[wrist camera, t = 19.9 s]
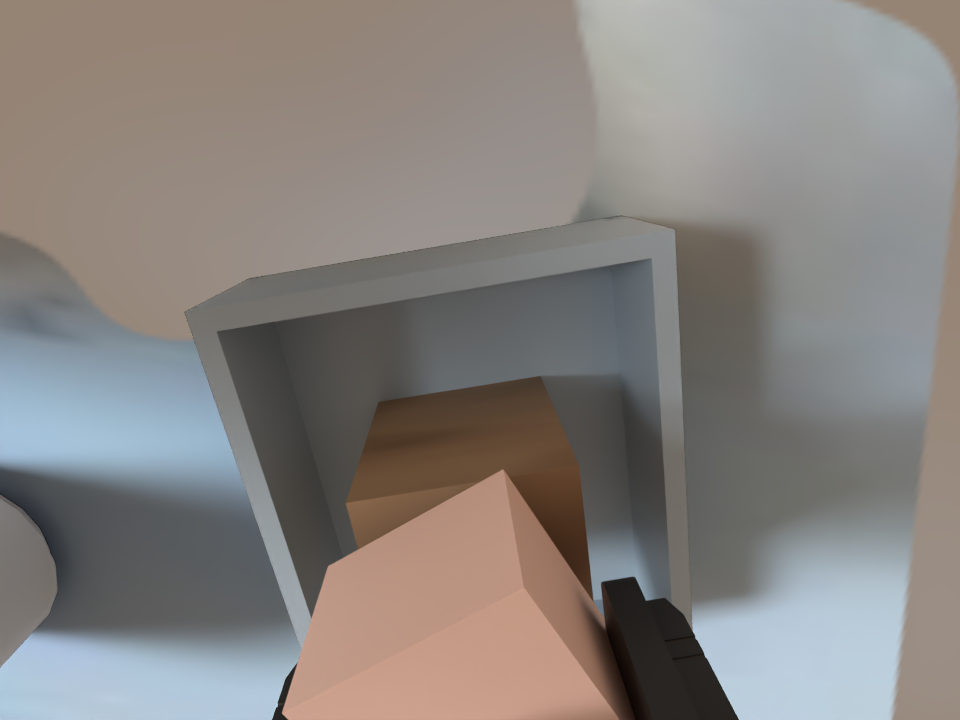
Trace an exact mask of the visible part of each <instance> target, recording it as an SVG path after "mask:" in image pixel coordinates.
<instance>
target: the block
mask: <svg viewBox="0 0 960 720" xmlns="http://www.w3.org/2000/svg"><path fill="white" fill-rule="evenodd" d="M503 469H504V471H505V472H506V474H507V475H508V477H509V478H510V480H511V481H512V483H513V484H514V486H515V487H516V488H517V490H518V491H519V493H520V494H521V496H522V497H523V499H524V500H525V502H526V503H527V505H528V506H529V508H530V509H531V511H532V512H533V514H534V515H535V517H536V518H537V520H538V521H539V522H540V524H541V525H542V527H543V528H544V530H545V531H546V533H547V534H548V536H549V537H550V539H551V540H552V542H553V543H554V545H555V546H556V548H557V549H558V551H559V552H560V553H561V555H562V556H563V558H564V559H565V561H566V562H567V564H568V565H569V567H570V568H571V570H572V571H573V573H574V574H575V576H576V577H577V579H578V580H579V582H580V583H581V584H582V586H583V587H584V589H585V590H586V592H587V593H588V595H589V596H590V598H591V599H592V601H593V602H594V599H593V590H592V581H591V571H590V562H589V553H588V543H587V534H586V525H585V515H584V506H583V497H582V488H581V478H580V469H579V464H578V462H577V460H576V457H575V455H574V453H573V450H572V448H571V446H570V443H569V441H568V439H567V436H566V434H565V432H564V429H563V427H562V425H561V423H560V420H559V418H558V416H557V413H556V411H555V409H554V406H553V404H552V402H551V399H550V397H549V395H548V392H547V390H546V388H545V385H544V383H543V381H542V378H541V376H537V377H531V378H524V379H518V380H512V381H506V382H499V383H493V384H487V385H481V386H474V387H468V388H462V389H456V390H449V391H443V392H437V393H431V394H425V395H418V396H412V397H406V398H400V399H393V400H387V401H381V402H378V405H377V408H376V411H375V414H374V417H373V420H372V424H371V427H370V430H369V433H368V436H367V439H366V442H365V445H364V448H363V451H362V454H361V457H360V460H359V464H358V467H357V470H356V473H355V476H354V479H353V482H352V485H351V488H350V491H349V494H348V497H347V501H346V506H347V510H348V513H349V517H350V521H351V525H352V528H353V532H354V536H355V539H356V543H357V547H358V549H360V548H362V547H364V546H366V545H367V544H369V543H371V542H373V541H375V540H376V539H378V538H380V537H382V536H384V535H385V534H387V533H389V532H391V531H393V530H394V529H396V528H398V527H400V526H402V525H403V524H405V523H407V522H409V521H411V520H412V519H414V518H416V517H418V516H420V515H421V514H423V513H425V512H427V511H429V510H431V509H432V508H434V507H436V506H438V505H440V504H441V503H443V502H445V501H447V500H449V499H450V498H452V497H454V496H456V495H458V494H459V493H461V492H463V491H465V490H467V489H468V488H470V487H472V486H474V485H476V484H477V483H479V482H481V481H483V480H485V479H486V478H488V477H490V476H492V475H494V474H495V473H497V472H499V471H501V470H503Z"/></svg>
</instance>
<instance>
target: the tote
mask: <svg viewBox="0 0 960 720" xmlns="http://www.w3.org/2000/svg"><path fill="white" fill-rule="evenodd" d="M185 316H186V318H187V321H188V324H189V327H190V330H191V333H192V336H193V339H194V342H195V344H196V347H197V350H198V353H199V356H200V359H201V362H202V365H203V368H204V370H205V373H206V376H207V379H208V382H209V385H210V388H211V391H212V394H213V397H214V399H215V402H216V405H217V408H218V411H219V414H220V417H221V420H222V423H223V425H224V428H225V431H226V434H227V437H228V440H229V443H230V446H231V449H232V451H233V454H234V457H235V460H236V463H237V466H238V469H239V472H240V475H241V477H242V480H243V483H244V486H245V489H246V492H247V495H248V498H249V501H250V503H251V506H252V509H253V512H254V515H255V518H256V521H257V524H258V527H259V530H260V532H261V535H262V538H263V541H264V544H265V547H266V550H267V553H268V556H269V558H270V561H271V564H272V567H273V570H274V573H275V576H276V579H277V582H278V584H279V587H280V590H281V593H282V596H283V599H284V602H285V605H286V608H287V610H288V613H289V616H290V619H291V622H292V625H293V628H294V631H295V634H296V636H297V639H298V642H299V645H300V648H301V651H302V648H303V644H304V641H305V638H306V635H307V632H308V628H309V625H310V622H311V619H312V616H313V613H314V609H315V606H316V603H317V600H318V597H319V593H320V590H321V587H322V584H323V581H324V578H325V574H326V571H327V568H328V566H329V565H331V564H333V563H335V562H337V561H338V560H340V559H342V558H344V557H346V556H348V555H349V554H351V553H353V552H355V551H357V550H358V547H357V543H356V539H355V536H354V532H353V528H352V525H351V521H350V517H349V513H348V510H347V506H346V501H347V497H348V494H349V491H350V488H351V485H352V482H353V479H354V476H355V473H356V470H357V467H358V464H359V460H360V457H361V454H362V451H363V448H364V445H365V442H366V439H367V436H368V433H369V430H370V427H371V424H372V420H373V417H374V414H375V411H376V408H377V405H378V402H381V401H387V400H393V399H400V398H406V397H412V396H418V395H425V394H431V393H437V392H443V391H449V390H456V389H462V388H468V387H474V386H481V385H487V384H493V383H499V382H506V381H512V380H518V379H524V378H531V377H537V376H541V378H542V381H543V383H544V385H545V388H546V390H547V392H548V395H549V397H550V399H551V402H552V404H553V406H554V409H555V411H556V413H557V416H558V418H559V420H560V423H561V425H562V427H563V429H564V432H565V434H566V436H567V439H568V441H569V443H570V446H571V448H572V450H573V453H574V455H575V457H576V460H577V462H578V464H579V469H580V478H581V488H582V497H583V506H584V515H585V525H586V534H587V543H588V553H589V562H590V571H591V581H592V590H593V599H594V604H595V605H596V607H597V608H598V610H599V611H600V613H601V614H602V616H603V617H604V609H603V600H602V591H601V582H603V581H609V580H615V579H621V578H627V577H633V576H634V577H635V578H636V580H637V582H638V584H639V586H640V588H641V591H642V593H643V595H644V597H645V599H646V601H647V600H653V599H659V598H666V599H667V600H668V601H669V602H670V603H671V604H672V605H674V606H675V607H676V608H677V609H678V610H679V611H680V612H682V613H683V614H684V616H685V618H686V620H687V622H688V624H689V625H690V627H691V629H692V608H691V585H690V562H689V539H688V516H687V493H686V470H685V447H684V425H683V402H682V379H681V356H680V333H679V310H678V287H677V264H676V241H675V229H672V228H668V227H664V226H660V225H656V224H652V223H648V222H644V221H640V220H636V219H633V218H629V217H625V216H616V217H610V218H604V219H598V220H592V221H586V222H580V223H574V224H568V225H562V226H556V227H550V228H545V229H539V230H533V231H527V232H521V233H515V234H509V235H503V236H497V237H491V238H486V239H479V240H474V241H468V242H462V243H456V244H450V245H444V246H438V247H433V248H426V249H420V250H414V251H408V252H403V253H397V254H391V255H385V256H379V257H373V258H367V259H361V260H355V261H350V262H343V263H338V264H332V265H326V266H320V267H314V268H308V269H302V270H296V271H290V272H284V273H279V274H273V275H267V276H261V277H256V278H249V279H247V280H245V281H243V282H241V283H239V284H238V285H236V286H234V287H232V288H230V289H228V290H226V291H224V292H222V293H220V294H218V295H216V296H214V297H212V298H211V299H209V300H207V301H205V302H203V303H201V304H199V305H197V306H195V307H193V308H191V309H189V310H187V311H185Z"/></svg>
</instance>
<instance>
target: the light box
mask: <svg viewBox="0 0 960 720" xmlns="http://www.w3.org/2000/svg"><path fill="white" fill-rule="evenodd" d="M282 714H283V715H284V716H285V717H286V718H287V719H288V720H636V719H635V716H634V713H633V710H632V707H631V704H630V701H629V698H628V695H627V692H626V689H625V686H624V683H623V680H622V677H621V674H620V671H619V668H618V665H617V662H616V659H615V656H614V653H613V650H612V647H611V644H610V641H609V638H608V635H607V632H606V627H605V618H604V617H603V616H602V614H601V613H600V611H599V610H598V608H597V607H596V605H595V604H594V602H593V601H592V599H591V598H590V596H589V595H588V593H587V592H586V590H585V589H584V587H583V586H582V584H581V583H580V582H579V580H578V579H577V577H576V576H575V574H574V573H573V571H572V570H571V568H570V567H569V565H568V564H567V562H566V561H565V559H564V558H563V556H562V555H561V553H560V552H559V551H558V549H557V548H556V546H555V545H554V543H553V542H552V540H551V539H550V537H549V536H548V534H547V533H546V531H545V530H544V528H543V527H542V525H541V524H540V522H539V521H538V520H537V518H536V517H535V515H534V514H533V512H532V511H531V509H530V508H529V506H528V505H527V503H526V502H525V500H524V499H523V497H522V496H521V494H520V493H519V491H518V490H517V488H516V487H515V486H514V484H513V483H512V481H511V480H510V478H509V477H508V475H507V474H506V472H505V471H504V469H503V470H501V471H499V472H497V473H495V474H494V475H492V476H490V477H488V478H486V479H485V480H483V481H481V482H479V483H477V484H476V485H474V486H472V487H470V488H468V489H467V490H465V491H463V492H461V493H459V494H458V495H456V496H454V497H452V498H450V499H449V500H447V501H445V502H443V503H441V504H440V505H438V506H436V507H434V508H432V509H431V510H429V511H427V512H425V513H423V514H421V515H420V516H418V517H416V518H414V519H412V520H411V521H409V522H407V523H405V524H403V525H402V526H400V527H398V528H396V529H394V530H393V531H391V532H389V533H387V534H385V535H384V536H382V537H380V538H378V539H376V540H375V541H373V542H371V543H369V544H367V545H366V546H364V547H362V548H360V549H358V550H357V551H355V552H353V553H351V554H349V555H348V556H346V557H344V558H342V559H340V560H338V561H337V562H335V563H333V564H331V565H329V566H328V568H327V571H326V574H325V578H324V581H323V584H322V587H321V590H320V593H319V597H318V600H317V603H316V606H315V609H314V613H313V616H312V619H311V622H310V625H309V628H308V632H307V635H306V638H305V641H304V644H303V648H302V651H301V654H300V657H299V660H298V663H297V667H296V670H295V673H294V676H293V679H292V683H291V686H290V689H289V692H288V695H287V698H286V702H285V705H284V708H283V711H282Z"/></svg>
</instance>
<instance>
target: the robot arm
mask: <svg viewBox="0 0 960 720" xmlns="http://www.w3.org/2000/svg"><path fill="white" fill-rule="evenodd" d="M601 591H602V600H603V609H604V618H605V627H606V632H607V635H608V638H609V641H610V644H611V647H612V650H613V653H614V656H615V659H616V662H617V665H618V668H619V671H620V674H621V677H622V680H623V683H624V686H625V689H626V692H627V695H628V698H629V701H630V704H631V707H632V710H633V713H634V716H635V719H636V720H739V719H738V717H737V715H736V714H735V712H734V710H733V708H732V706H731V704H730V702H729V700H728V698H727V696H726V694H725V692H724V691H723V689H722V687H721V685H720V683H719V681H718V679H717V677H716V675H715V673H714V671H713V670H712V668H711V666H710V664H709V662H708V660H707V658H705V656H704V652H703V650H702V648H701V647H700V645H699V643H698V641H697V640H696V639H695V635H694V633H693V631H692V629H691V627H690V625H689V624H688V622H687V620H686V618H685V616H684V614H683V613H682V612H680V611H679V610H678V609H677V608H676V607H675V606H674V605H672V604H671V603H670V602H669V601H668V600H667V599H666V598H659V599H653V600H647V601H646V599H645V597H644V595H643V593H642V591H641V588H640V586H639V584H638V582H637V580H636V578H635V577H634V576H633V577H627V578H621V579H615V580H609V581H603V582H601ZM297 663H298V662H297ZM296 667H297V664H296V665H295V667H294V668H293V669H292V671H291V672H290V673H289V675H288V676H287V678H286V679H285V682H284V685H283V689H282V692H281V695H280V698H279V701H278V707H277V708H276V710H275V713H274V716H273V719H272V720H288V719H287V718H286V717H285V716H284V715H283V714H282V711H283V708H284V705H285V702H286V698H287V695H288V692H289V689H290V686H291V683H292V679H293V676H294V673H295V670H296Z"/></svg>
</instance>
